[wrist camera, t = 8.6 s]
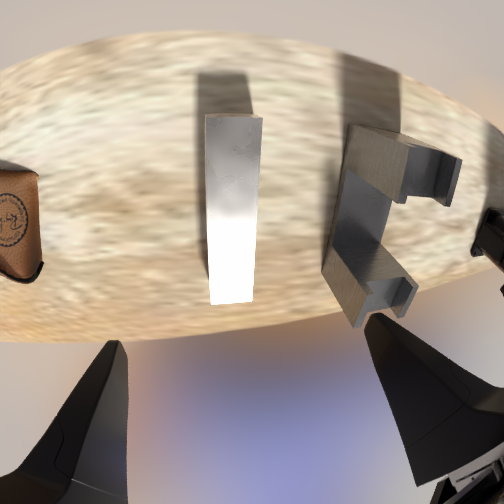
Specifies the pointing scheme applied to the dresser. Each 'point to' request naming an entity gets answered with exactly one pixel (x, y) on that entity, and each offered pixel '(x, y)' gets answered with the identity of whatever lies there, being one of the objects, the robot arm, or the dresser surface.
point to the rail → (231, 202)
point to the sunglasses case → (19, 226)
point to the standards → (379, 216)
